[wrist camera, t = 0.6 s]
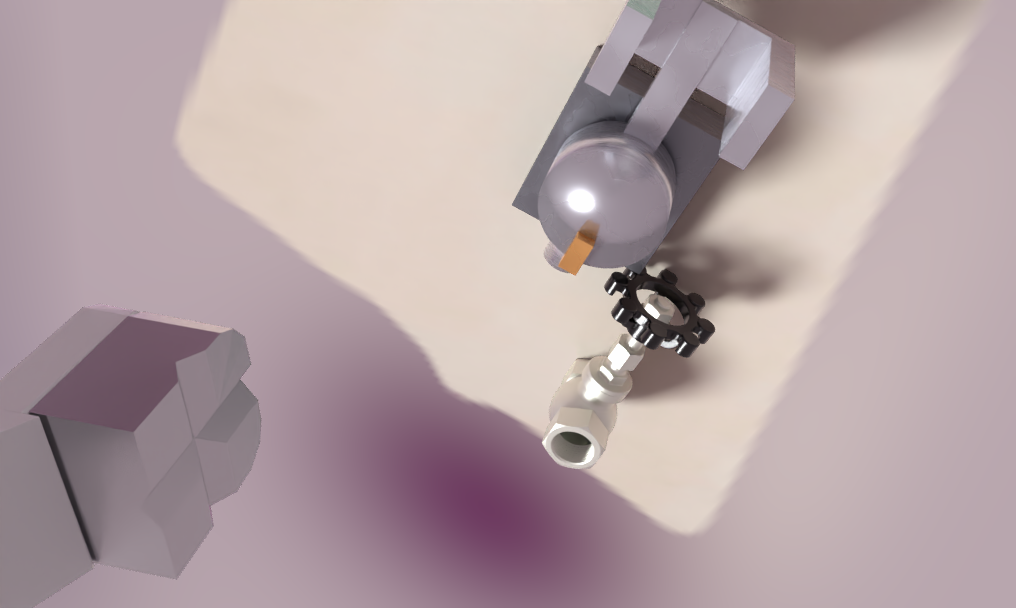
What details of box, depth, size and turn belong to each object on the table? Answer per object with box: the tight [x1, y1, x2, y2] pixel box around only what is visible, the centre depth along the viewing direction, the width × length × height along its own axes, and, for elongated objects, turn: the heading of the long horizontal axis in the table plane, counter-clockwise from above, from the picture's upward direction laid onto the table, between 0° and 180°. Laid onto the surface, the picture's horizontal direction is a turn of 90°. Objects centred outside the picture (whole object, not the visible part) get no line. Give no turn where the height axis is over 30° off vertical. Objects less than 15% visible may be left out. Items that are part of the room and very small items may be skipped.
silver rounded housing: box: [538, 0, 795, 275], centre depth 43 cm, size 14×8×7 cm, turn 155°
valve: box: [542, 267, 715, 469], centre depth 55 cm, size 7×7×12 cm
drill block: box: [512, 46, 725, 274], centre depth 50 cm, size 12×8×3 cm
